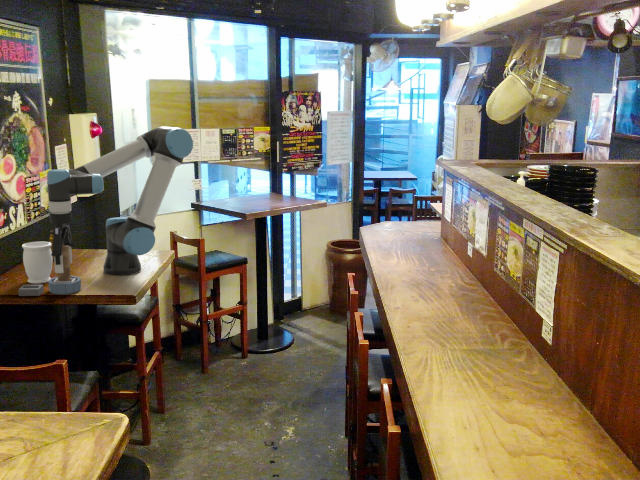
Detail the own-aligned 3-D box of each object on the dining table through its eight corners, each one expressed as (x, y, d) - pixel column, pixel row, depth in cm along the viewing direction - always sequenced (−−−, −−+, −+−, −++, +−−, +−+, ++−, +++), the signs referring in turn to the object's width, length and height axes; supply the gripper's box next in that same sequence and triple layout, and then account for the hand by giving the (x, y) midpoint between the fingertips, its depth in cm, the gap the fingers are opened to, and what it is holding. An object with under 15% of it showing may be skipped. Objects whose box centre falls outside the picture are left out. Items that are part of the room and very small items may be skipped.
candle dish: (83, 285, 234) (83, 275, 233) (77, 294, 224) (76, 284, 223) (53, 286, 232) (53, 276, 231) (45, 294, 222) (45, 284, 221)
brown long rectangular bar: (71, 286, 229) (68, 245, 226) (70, 288, 227) (67, 246, 224) (60, 286, 228) (57, 245, 225) (58, 288, 226) (56, 246, 223)
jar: (42, 286, 232) (39, 248, 229) (18, 283, 234) (15, 245, 231) (59, 278, 242) (57, 242, 239) (36, 276, 244) (34, 240, 241)
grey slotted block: (43, 290, 226) (43, 284, 225) (39, 295, 221) (39, 289, 220) (23, 291, 225) (23, 284, 224) (19, 296, 219) (18, 289, 219)
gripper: (58, 206, 233) (61, 259, 237) (39, 218, 209) (44, 277, 213) (78, 206, 234) (81, 259, 239) (62, 218, 210) (66, 277, 215)
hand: (63, 267), depth 226 cm, fingers open, 13 cm apart
